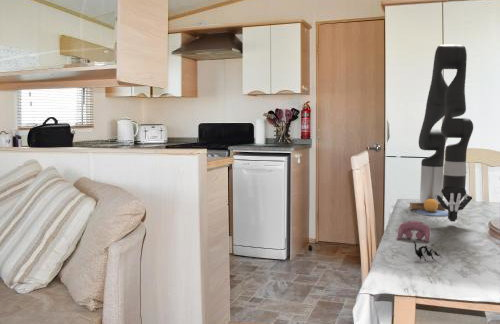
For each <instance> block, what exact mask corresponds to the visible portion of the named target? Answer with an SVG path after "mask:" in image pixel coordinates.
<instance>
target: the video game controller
mask: <svg viewBox="0 0 500 324" xmlns="http://www.w3.org/2000/svg"><path fill="white" fill-rule="evenodd" d="M412 231H416V233H415V238H416V239H417V240H420V241H421V240H422V239H423V238H424V242H425V243H429V241H430V239H431V228H430V226H429V225H428V224H426V223H425V222H421V221H417V220H409V221H403V222H401V224H399V226H398V230H397V239H398V240H399V239H400V240H401V239H402V238H403V236H404V235H405V237H406V239H412V238H413V237H414V235H413V232H412Z"/></svg>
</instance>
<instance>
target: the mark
mask: <svg viewBox="0 0 500 324" xmlns="http://www.w3.org/2000/svg"><path fill="white" fill-rule="evenodd" d="M415 212H416V213H417V214H419V215H422V216H423V215H424V216H429V217H448V211H445V210H436V211H434V212H428V211H427V210H426V209H423V210H419V209H416V211H415Z"/></svg>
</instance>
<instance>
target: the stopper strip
mask: <svg viewBox="0 0 500 324" xmlns="http://www.w3.org/2000/svg"><path fill="white" fill-rule="evenodd" d="M409 209H410V210H423V209H425V208H424V203H420V202H409ZM437 210H441V211H445V210H446V209H444V208H443V207H442V206H441V204H440V203H438V208H437Z"/></svg>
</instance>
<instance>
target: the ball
mask: <svg viewBox="0 0 500 324" xmlns="http://www.w3.org/2000/svg"><path fill="white" fill-rule="evenodd" d="M424 208H425V209H426V210H427V211H428V212H434V211H436V210H437V208H438V203H437V201H436V200H434V199H428V200H426V201H425V203H424Z"/></svg>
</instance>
